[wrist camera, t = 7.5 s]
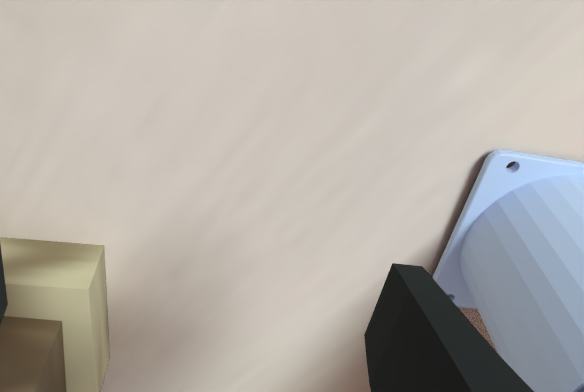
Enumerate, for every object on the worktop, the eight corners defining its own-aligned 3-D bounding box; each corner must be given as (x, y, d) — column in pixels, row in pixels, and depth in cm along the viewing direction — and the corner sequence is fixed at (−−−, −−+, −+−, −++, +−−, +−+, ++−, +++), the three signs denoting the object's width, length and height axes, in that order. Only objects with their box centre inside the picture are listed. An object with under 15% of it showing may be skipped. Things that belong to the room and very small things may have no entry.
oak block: (106, 239, 23) (88, 289, 21) (111, 350, 27) (97, 403, 25) (-72, 225, 22) (-112, 276, 20) (-40, 342, 26) (-71, 396, 24)
